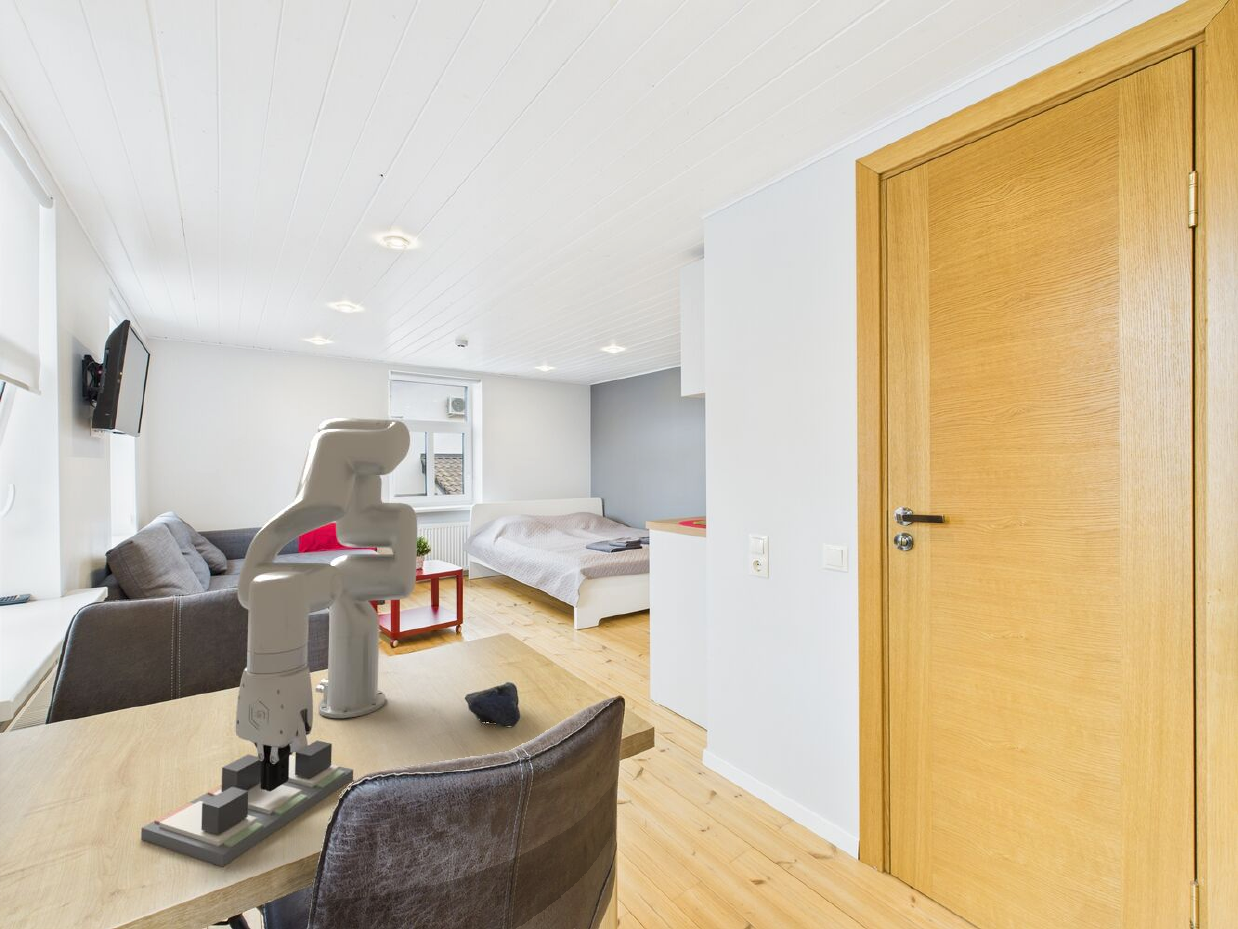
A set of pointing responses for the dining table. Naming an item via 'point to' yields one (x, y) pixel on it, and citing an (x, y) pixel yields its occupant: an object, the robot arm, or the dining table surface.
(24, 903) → the dining table surface
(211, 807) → the block
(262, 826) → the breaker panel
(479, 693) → the rock
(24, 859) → the dining table surface
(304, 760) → the block
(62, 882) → the dining table surface
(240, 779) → the block
